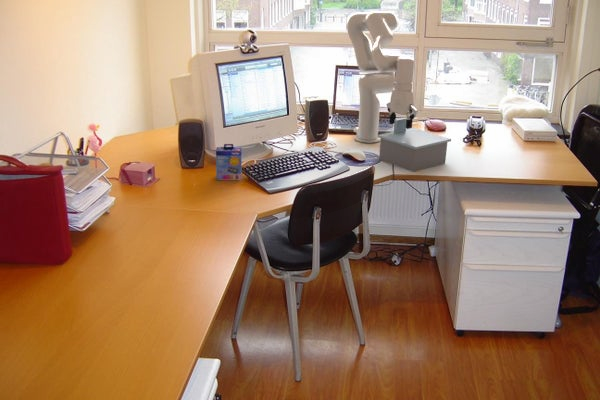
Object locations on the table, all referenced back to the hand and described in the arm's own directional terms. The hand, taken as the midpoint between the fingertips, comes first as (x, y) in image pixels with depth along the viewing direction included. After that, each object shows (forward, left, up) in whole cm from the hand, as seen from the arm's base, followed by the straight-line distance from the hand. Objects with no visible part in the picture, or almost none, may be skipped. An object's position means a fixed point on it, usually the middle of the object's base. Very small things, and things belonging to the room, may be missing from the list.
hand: (400, 126), depth 289 cm
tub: (+8, 0, -14) cm, 16 cm away
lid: (+8, 0, -5) cm, 10 cm away
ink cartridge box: (-18, -77, -14) cm, 80 cm away
